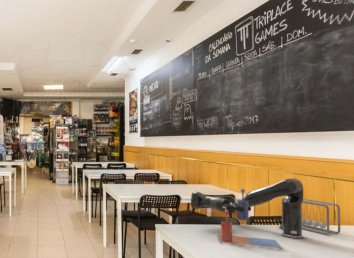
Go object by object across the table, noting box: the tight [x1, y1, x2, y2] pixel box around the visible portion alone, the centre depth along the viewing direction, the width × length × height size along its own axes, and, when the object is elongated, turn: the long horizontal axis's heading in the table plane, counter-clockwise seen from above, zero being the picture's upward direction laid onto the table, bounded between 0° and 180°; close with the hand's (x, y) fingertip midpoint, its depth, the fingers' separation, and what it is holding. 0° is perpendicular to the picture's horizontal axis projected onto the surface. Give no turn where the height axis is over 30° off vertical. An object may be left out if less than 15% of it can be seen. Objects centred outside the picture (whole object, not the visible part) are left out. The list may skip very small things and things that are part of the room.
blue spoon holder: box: [236, 188, 250, 221], centre depth 188 cm, size 6×6×17 cm
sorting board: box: [218, 233, 282, 249], centre depth 183 cm, size 16×28×1 cm, turn 69°
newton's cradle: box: [281, 197, 341, 236], centre depth 214 cm, size 30×10×18 cm, turn 18°
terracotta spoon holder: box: [220, 210, 233, 243], centre depth 182 cm, size 6×6×17 cm
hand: (246, 209), depth 186 cm, fingers closed on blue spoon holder, 5 cm apart
